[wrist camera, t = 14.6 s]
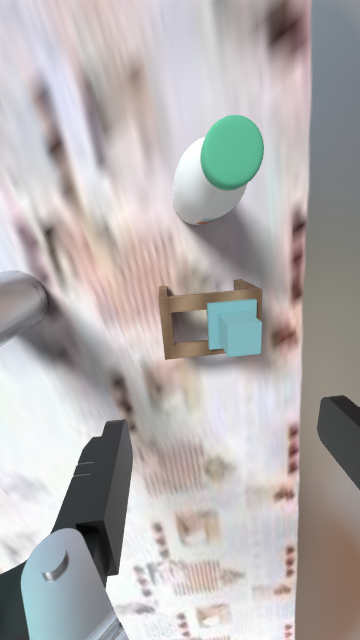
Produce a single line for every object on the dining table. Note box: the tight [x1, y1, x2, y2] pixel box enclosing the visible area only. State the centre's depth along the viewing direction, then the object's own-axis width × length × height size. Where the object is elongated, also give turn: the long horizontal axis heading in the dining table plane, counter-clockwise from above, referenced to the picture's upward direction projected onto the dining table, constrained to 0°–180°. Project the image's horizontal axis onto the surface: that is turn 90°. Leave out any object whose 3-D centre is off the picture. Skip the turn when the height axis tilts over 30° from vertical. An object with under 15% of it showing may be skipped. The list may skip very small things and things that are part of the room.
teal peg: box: [207, 299, 262, 357], centre depth 32 cm, size 7×7×10 cm
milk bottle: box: [171, 115, 264, 225], centre depth 27 cm, size 8×8×20 cm
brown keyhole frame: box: [159, 279, 262, 360], centre depth 37 cm, size 14×9×9 cm, turn 95°
